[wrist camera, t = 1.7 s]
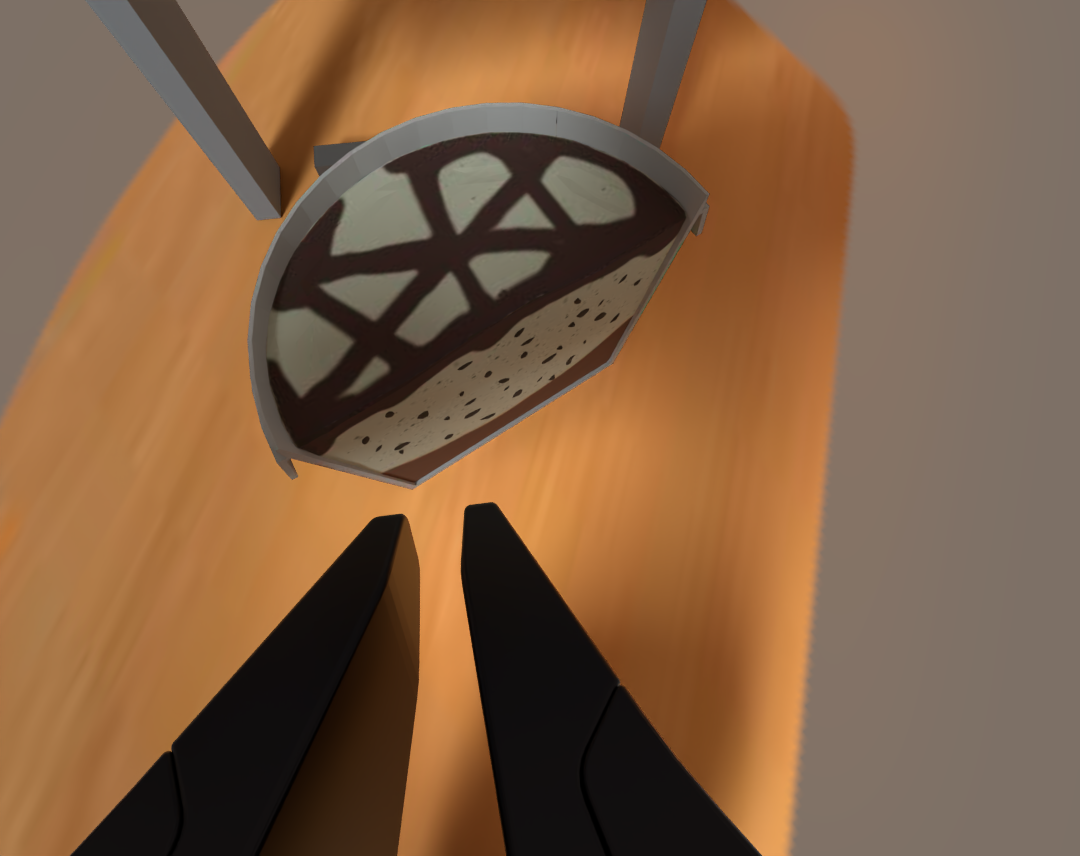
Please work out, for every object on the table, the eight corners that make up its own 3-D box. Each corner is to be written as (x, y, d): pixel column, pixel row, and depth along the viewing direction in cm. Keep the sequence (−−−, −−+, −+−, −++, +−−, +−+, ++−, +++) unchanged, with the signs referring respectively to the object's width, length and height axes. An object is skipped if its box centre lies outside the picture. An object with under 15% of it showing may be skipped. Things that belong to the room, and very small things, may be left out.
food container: (559, 232, 24) (580, 7, 14) (642, 345, 23) (727, 183, 13) (301, 380, 22) (126, 237, 13) (378, 511, 21) (251, 465, 11)
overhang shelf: (663, 251, 24) (865, -212, 10) (258, 294, 23) (-180, -146, 9) (639, 133, 25) (785, -424, 11) (256, 169, 24) (-125, -387, 10)
